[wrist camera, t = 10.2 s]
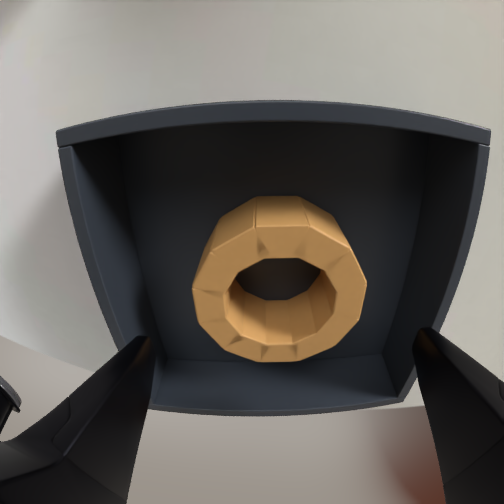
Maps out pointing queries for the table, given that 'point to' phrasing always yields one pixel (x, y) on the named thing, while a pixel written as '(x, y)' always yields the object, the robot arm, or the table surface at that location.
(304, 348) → the tape
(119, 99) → the table surface
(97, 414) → the robot arm
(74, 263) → the table surface
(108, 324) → the tray
